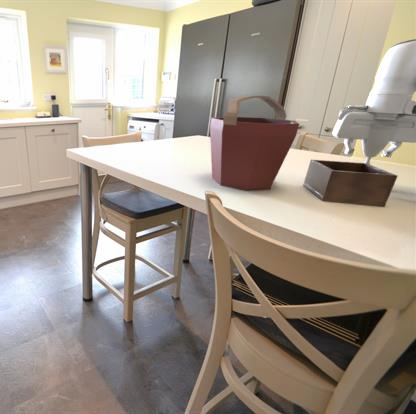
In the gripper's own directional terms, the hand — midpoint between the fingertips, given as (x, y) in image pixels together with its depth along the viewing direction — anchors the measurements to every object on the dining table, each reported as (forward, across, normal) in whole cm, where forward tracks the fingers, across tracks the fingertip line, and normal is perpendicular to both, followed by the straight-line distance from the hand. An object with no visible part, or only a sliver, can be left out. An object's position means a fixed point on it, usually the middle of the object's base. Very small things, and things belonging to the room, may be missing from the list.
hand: (366, 155), depth 84 cm
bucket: (+10, -34, -8) cm, 37 cm away
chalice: (+9, +1, 0) cm, 9 cm away
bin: (+9, -10, -13) cm, 19 cm away
